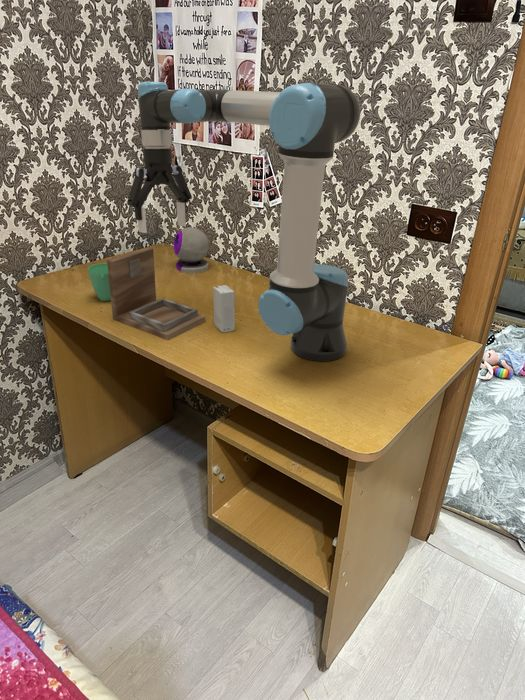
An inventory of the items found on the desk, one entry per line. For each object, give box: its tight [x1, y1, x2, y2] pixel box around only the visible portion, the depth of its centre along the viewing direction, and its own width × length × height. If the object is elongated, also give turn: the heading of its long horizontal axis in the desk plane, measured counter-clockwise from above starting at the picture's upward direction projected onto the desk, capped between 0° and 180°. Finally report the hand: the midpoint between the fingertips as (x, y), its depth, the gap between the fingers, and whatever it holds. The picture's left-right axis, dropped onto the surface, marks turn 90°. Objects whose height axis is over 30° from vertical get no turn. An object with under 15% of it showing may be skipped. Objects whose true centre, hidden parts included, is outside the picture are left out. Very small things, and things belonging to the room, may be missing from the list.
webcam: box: [173, 226, 210, 274], centre depth 196 cm, size 13×13×15 cm
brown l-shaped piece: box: [106, 247, 206, 341], centre depth 153 cm, size 22×16×18 cm
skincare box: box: [212, 284, 236, 333], centre depth 151 cm, size 6×4×12 cm
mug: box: [87, 262, 111, 302], centre depth 169 cm, size 15×10×10 cm
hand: (162, 229), depth 148 cm, fingers open, 13 cm apart
